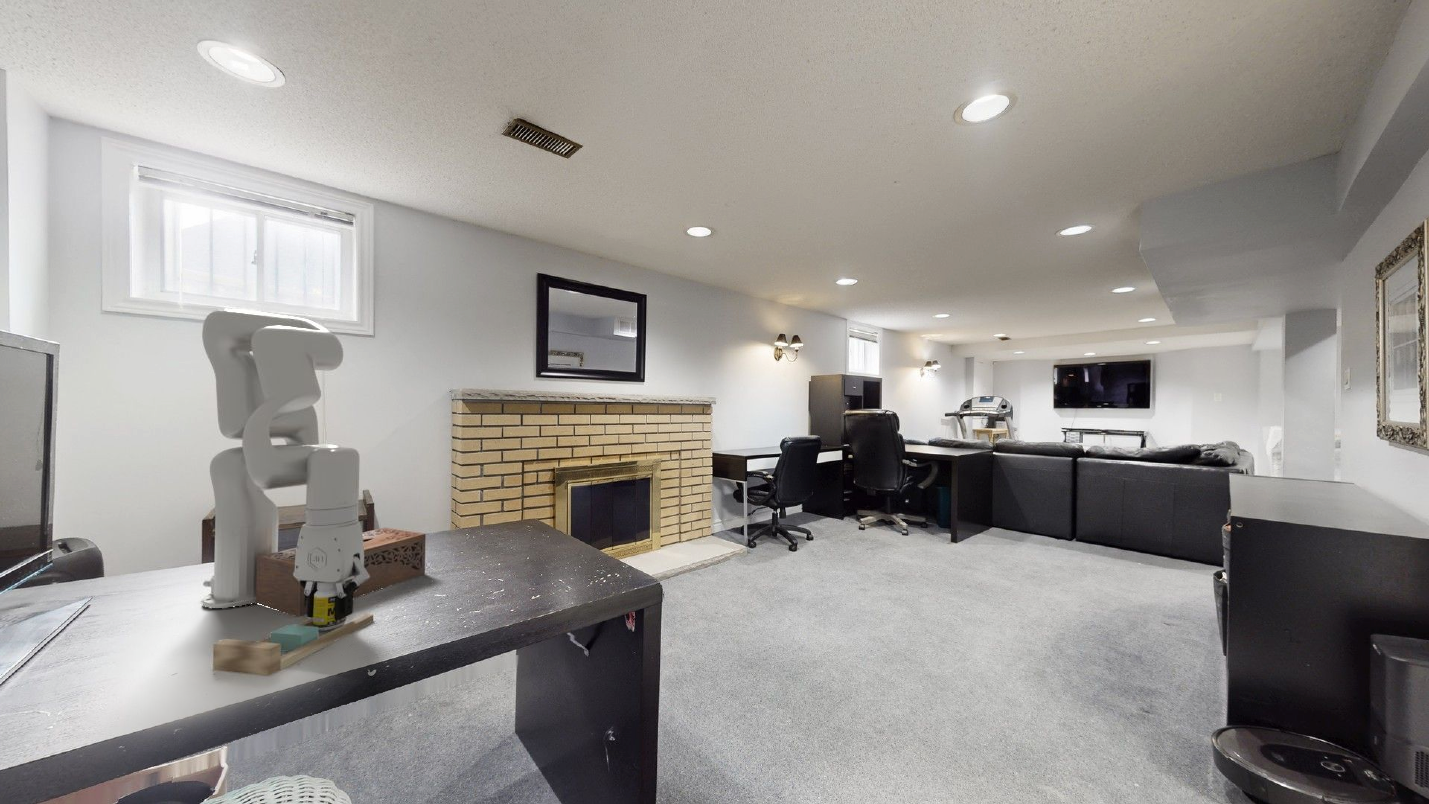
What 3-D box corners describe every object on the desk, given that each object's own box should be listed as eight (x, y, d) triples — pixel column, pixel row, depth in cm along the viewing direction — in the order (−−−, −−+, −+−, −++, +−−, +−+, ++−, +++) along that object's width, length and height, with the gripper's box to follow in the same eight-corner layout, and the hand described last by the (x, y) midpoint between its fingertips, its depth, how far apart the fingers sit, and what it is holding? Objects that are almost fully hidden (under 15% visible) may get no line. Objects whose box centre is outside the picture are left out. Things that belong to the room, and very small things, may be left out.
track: (212, 669, 73) (213, 643, 73) (326, 617, 92) (327, 596, 92) (269, 675, 72) (270, 649, 72) (373, 621, 90) (373, 599, 90)
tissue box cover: (384, 567, 121) (385, 527, 121) (424, 575, 116) (425, 533, 116) (256, 606, 97) (257, 556, 97) (299, 618, 92) (300, 566, 92)
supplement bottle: (327, 632, 84) (328, 584, 84) (305, 630, 85) (306, 582, 85) (353, 620, 89) (354, 575, 89) (332, 618, 90) (333, 573, 90)
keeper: (270, 649, 80) (270, 632, 80) (288, 640, 83) (288, 624, 83) (300, 652, 79) (301, 635, 79) (318, 643, 82) (318, 627, 82)
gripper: (270, 518, 85) (267, 621, 85) (356, 522, 83) (354, 628, 82) (311, 509, 92) (308, 604, 92) (391, 513, 90) (388, 610, 90)
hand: (330, 614), depth 87 cm, fingers closed on supplement bottle, 4 cm apart
